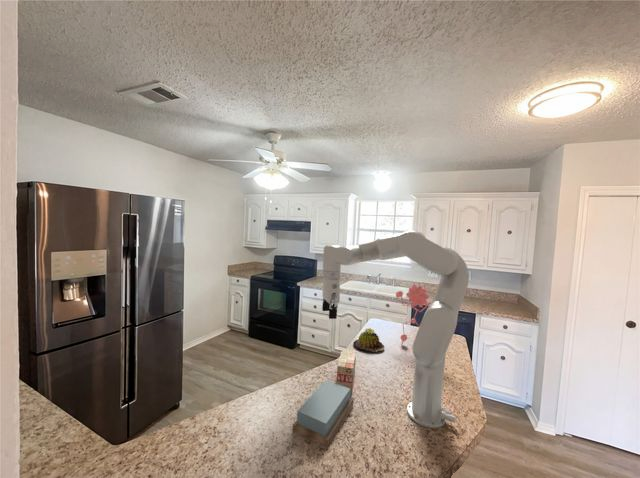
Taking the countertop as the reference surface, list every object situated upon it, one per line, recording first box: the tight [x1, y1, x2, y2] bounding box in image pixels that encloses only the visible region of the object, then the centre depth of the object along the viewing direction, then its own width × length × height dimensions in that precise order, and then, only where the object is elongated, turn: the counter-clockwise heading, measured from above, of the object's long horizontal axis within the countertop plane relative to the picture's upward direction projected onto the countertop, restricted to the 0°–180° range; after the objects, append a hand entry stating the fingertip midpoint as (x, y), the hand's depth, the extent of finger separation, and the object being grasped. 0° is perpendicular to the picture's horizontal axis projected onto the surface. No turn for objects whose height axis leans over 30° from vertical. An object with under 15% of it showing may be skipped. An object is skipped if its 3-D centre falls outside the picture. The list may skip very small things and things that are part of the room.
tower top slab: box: [296, 379, 351, 436], centre depth 89 cm, size 10×20×4 cm, turn 153°
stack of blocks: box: [336, 348, 357, 398], centre depth 113 cm, size 21×6×12 cm, turn 169°
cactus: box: [353, 327, 385, 353], centre depth 149 cm, size 17×16×10 cm
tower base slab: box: [292, 397, 354, 448], centre depth 90 cm, size 12×22×4 cm, turn 153°
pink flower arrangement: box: [395, 284, 432, 346], centre depth 152 cm, size 15×26×35 cm, turn 44°
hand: (329, 314), depth 112 cm, fingers open, 9 cm apart
